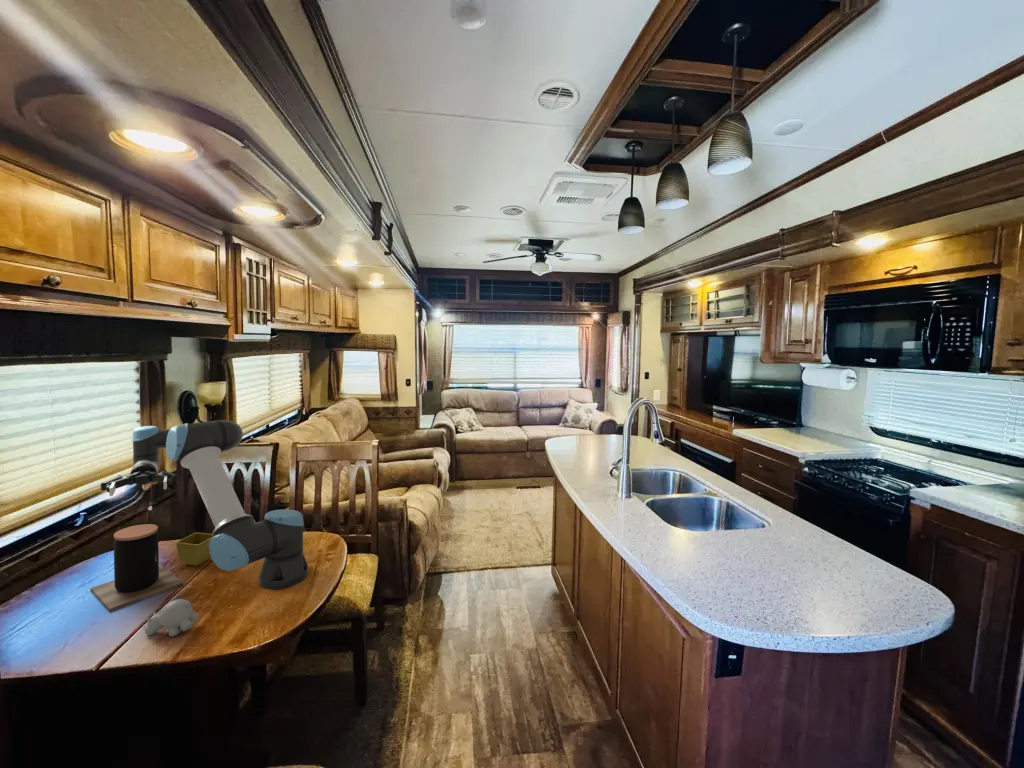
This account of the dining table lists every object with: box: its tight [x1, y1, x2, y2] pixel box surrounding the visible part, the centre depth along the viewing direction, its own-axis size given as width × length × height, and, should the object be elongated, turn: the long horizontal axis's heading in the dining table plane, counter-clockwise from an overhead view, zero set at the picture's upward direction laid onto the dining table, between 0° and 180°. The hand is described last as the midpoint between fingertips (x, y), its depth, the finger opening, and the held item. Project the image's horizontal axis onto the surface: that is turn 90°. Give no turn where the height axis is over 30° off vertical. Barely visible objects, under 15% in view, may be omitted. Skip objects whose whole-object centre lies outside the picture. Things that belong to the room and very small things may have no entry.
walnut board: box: [90, 564, 184, 613], centre depth 136 cm, size 18×18×1 cm
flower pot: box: [175, 532, 213, 567], centre depth 153 cm, size 9×9×9 cm
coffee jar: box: [113, 523, 160, 593], centre depth 135 cm, size 11×11×18 cm
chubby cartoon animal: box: [142, 598, 199, 638], centre depth 116 cm, size 7×12×8 cm, turn 102°
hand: (138, 488), depth 141 cm, fingers open, 13 cm apart
